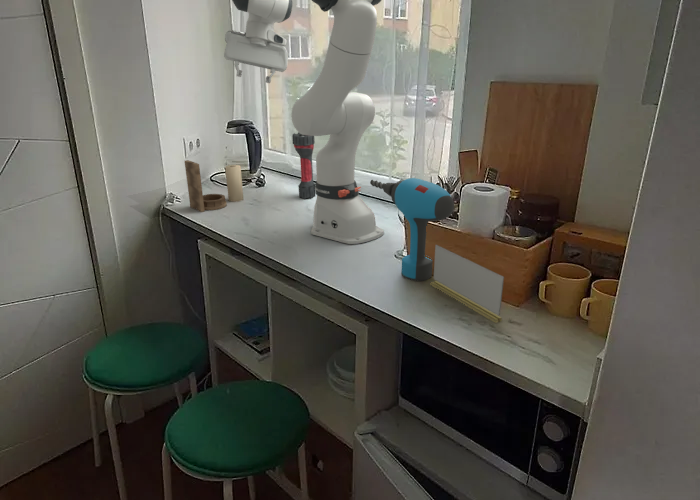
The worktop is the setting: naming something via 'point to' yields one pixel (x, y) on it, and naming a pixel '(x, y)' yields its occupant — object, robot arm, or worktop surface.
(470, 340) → the worktop surface
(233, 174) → the paper roll
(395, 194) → the power drill
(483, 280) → the sign holder
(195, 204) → the candle holder
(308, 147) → the flashlight
